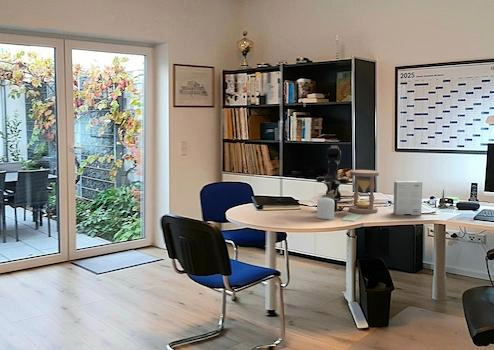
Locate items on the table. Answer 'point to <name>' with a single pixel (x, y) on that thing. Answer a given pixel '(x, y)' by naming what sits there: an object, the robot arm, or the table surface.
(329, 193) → the turner
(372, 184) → the hourglass
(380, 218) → the table surface
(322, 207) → the photo printer
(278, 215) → the table surface
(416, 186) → the hard drive box
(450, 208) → the eiffel tower figurine
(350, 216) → the mat
